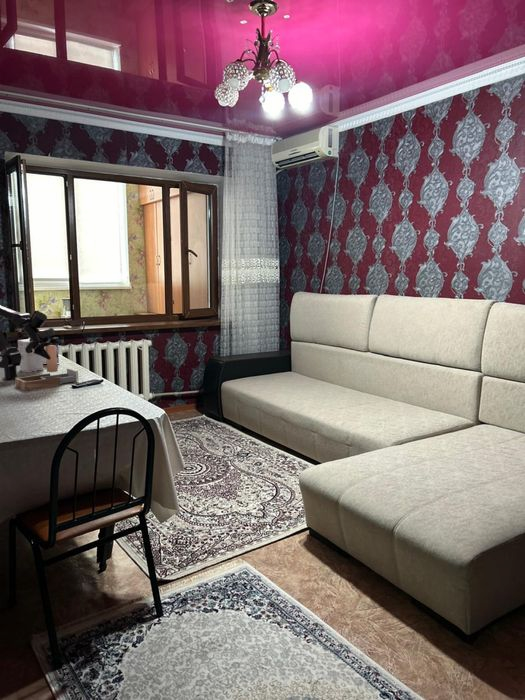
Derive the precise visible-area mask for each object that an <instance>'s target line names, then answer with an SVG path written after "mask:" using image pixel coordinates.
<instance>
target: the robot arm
mask: <svg viewBox="0 0 525 700" xmlns="http://www.w3.org/2000/svg"><path fill="white" fill-rule="evenodd" d="M0 316H1V317H4V318H6V319H8V320H10V321H11V322H12V323H13V324H14V325H16V326H18V327H21V326H23V327H21V330H20V331H21V332H20V333H21V334H26V335H27V336H28V338H29V337H30V340H29V341H30V343H29V344H28V345H27V347H26V348H25V351H26V352H27V353H28V354H29V353H32V352H33V350H32V349H34V352H33V353H34V354H37V355H40V356H42V357H44V358H46V359H49V360H50V356H49V355H48V353H47V352H46V350H45V349H44V347H46V346H47V345H56V346H57V345H58V346H59V344H60V343H61V341H62V340H61V339H60V338H59V337H58V336H57V337H56V336H55V334H56V330H55V329H54V328H53V327H50V328H48V329H44V330H42V331H41V330H40V328H42V327H43V326H44V324H45V323H46V321H47V320H48V316H47V315H46V314H45V313H43V312H41V311H39V310H37V309H36V310H34V311H33V314H32V315H31V314H30V313H28V312H23V311H22V312H21V311H15V310H13V309H11V308H8V307H5V306H2V305H1V304H0ZM53 336H55V337H53ZM50 337H51V338H50ZM49 339H51V340H49ZM31 341H33V342H31ZM0 351H1V352H0V353H1V354H0V357H1V360H0V369H3V375H4V376H2V377H1V378H2V379H3V380H6V381H12V380H15V378H20V377H19V376H18V372H17V367H20V363H21V358H22V357H21V353H20V352H19V350H18V346H15V347H14V346H11V345H10V342H9V341H8V340H7V338H6V336H5V335H4V333H3V332H2V330H1V329H0ZM56 352H57V351H56ZM58 356H59V353H58V354H57V357H58Z"/></svg>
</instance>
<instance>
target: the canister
mask: <svg viewBox="0 0 525 700" xmlns="http://www.w3.org/2000/svg"><path fill="white" fill-rule="evenodd" d="M46 352H47V353H48V355H49V356H50V360H49V359H46V363H47V365H46V372H47V373H55V372H58V364H57V352H56V345H47V346H46Z"/></svg>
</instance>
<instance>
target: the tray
mask: <svg viewBox="0 0 525 700" xmlns="http://www.w3.org/2000/svg"><path fill="white" fill-rule="evenodd" d="M55 377H60V380H61V384H66V383H72V382H78V381H79V371H78V370H76V369H73V368H69V367H66V372H65V373H58V374H50V376H44V377H40V380H42V379H48V378H55Z"/></svg>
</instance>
